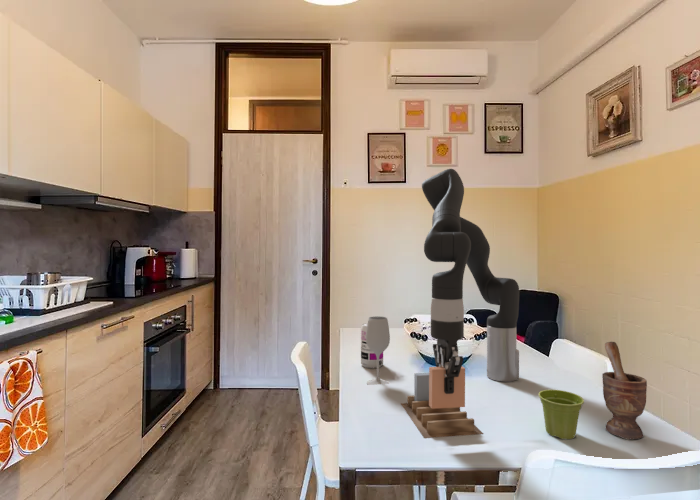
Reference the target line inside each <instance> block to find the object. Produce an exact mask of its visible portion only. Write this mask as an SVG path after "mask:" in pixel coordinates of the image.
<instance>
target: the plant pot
mask: <svg viewBox="0 0 700 500" xmlns="http://www.w3.org/2000/svg"><path fill="white" fill-rule="evenodd" d="M538 397H539V398H540V403H541V404H542V412H543V419H544V427H545V431H546V433H547V434H548V435H550V436H552V437H557V438H559V439H561V440H572V439H574V438H575V437H576V434H577V427H578V422H579V416H580V410H581V409H582V405H583V404H584V403H585V399H584V398H583V397H582V396H581V395H579V394H576V393H574V392H570V391H566V390H560V389H544V390H540V391H539V392H538Z"/></svg>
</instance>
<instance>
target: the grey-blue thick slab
mask: <svg viewBox="0 0 700 500" xmlns="http://www.w3.org/2000/svg"><path fill="white" fill-rule="evenodd" d="M413 376H414V380H413V381H414V401H429V372H416V373H414V375H413Z"/></svg>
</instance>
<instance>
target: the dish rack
mask: <svg viewBox="0 0 700 500" xmlns="http://www.w3.org/2000/svg"><path fill="white" fill-rule="evenodd" d="M400 405H401V407H402V408H403V409H404V411H405V412H406V414H407V416H408V417H409V418H410V420H411V421H412V423H413V424H414V425H415V428H416V429H417V430H418V431H419V433H420V434H421V436H422V437H423V439H430V438H431V439H433V438H446V437H459V436H460V437H461V436H462V437H463V436H473V435H484V432H483V431H482V430H480V429H479V428H478V427H477V425H476V424H475V419H474V418H473V417H472V418H471V417H470V418H468V413H467V411H461V407H455V408H435V409H432V408H431V407H430V406H429V401H414V395H407V402H404V403H400Z"/></svg>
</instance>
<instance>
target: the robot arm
mask: <svg viewBox="0 0 700 500" xmlns="http://www.w3.org/2000/svg"><path fill="white" fill-rule="evenodd" d="M421 189H422V192H423V194H424V196H425V198H426V200H427V202H428V203H429V206H431V208H432V210H433V214H432V219H431V220H432V221H431V224H432V227H431V229H430V231H429V232H428V234H427V235H426V237H425V241H424V242H423V252H424V255H425V257H426V258H427V259H428V260H429V261H430V262H434V263H454V265H453V267H452V268H451V269H449V270H445V271H440V272H437V273H434V274H433V275H432V277H431V303H430V336H431V338H432V339H435V340H436V343H434V344H432V349H433V356H434V361H435V362H434V363H435V367H443V368H444V392H445V393H446V394H453V393H454V377H459V373H460V370H461V366H462V367H463V363H464V356H462V355H461V356H460V355H459V347H458V341H461V340H463V338H464V337H465V336H464V335H465V329H464V328H465V326H464V325H465V318H464V315H465V312H464V311H465V309H464V307H465V306H464V300H463V299H464V297H463V296H464V295H463V294H464V293H463V292H464V291H463V290H464V289H463V288H464V275H465V271H466V266H467V267H468V269H469V272H470V273H471V274H472V277H473V278H474V281H475V284H476V286H477V288H478V291H479V293H480V295H481V297H482V298H483V300H484V301H485V302H486V303H487V304H490V305H495V306H499V310H498V312H497V313H496V314H491V315H489V316H488V317H487V319H486V377H487V378H488V379H491V380H494V381H497V382H505V383H506V382H514V381H517V380H520V351H519V349H518V348H517V323H518V318H519V310H520V287H519V284H518V282H517V281H516V279H514V278H508V277H497V276H495V275H494V274H493V273H492V271H491V269H490V267H489V259H490V254H491V246H490V243H489V241H488V239H487V237H486V236H485V234H484V231H483V229H481V228H480V227H479V226H478V225H477V224H475V223H473V222H472V221H470V220H468V219H466V218H463V217H462V216H461V215H460V214H461V209H462V205H463V200H464V195H465V187H464V183H463V181H462V178H461V176H460V174H459V173H458V171H456V169H453V168H447V169H445V170H442V171H440V172H438V173H436V174H434V175H432V176H430V177H428V178H427V179H425V180H423V181H422V183H421ZM447 368H448V370H447Z"/></svg>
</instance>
